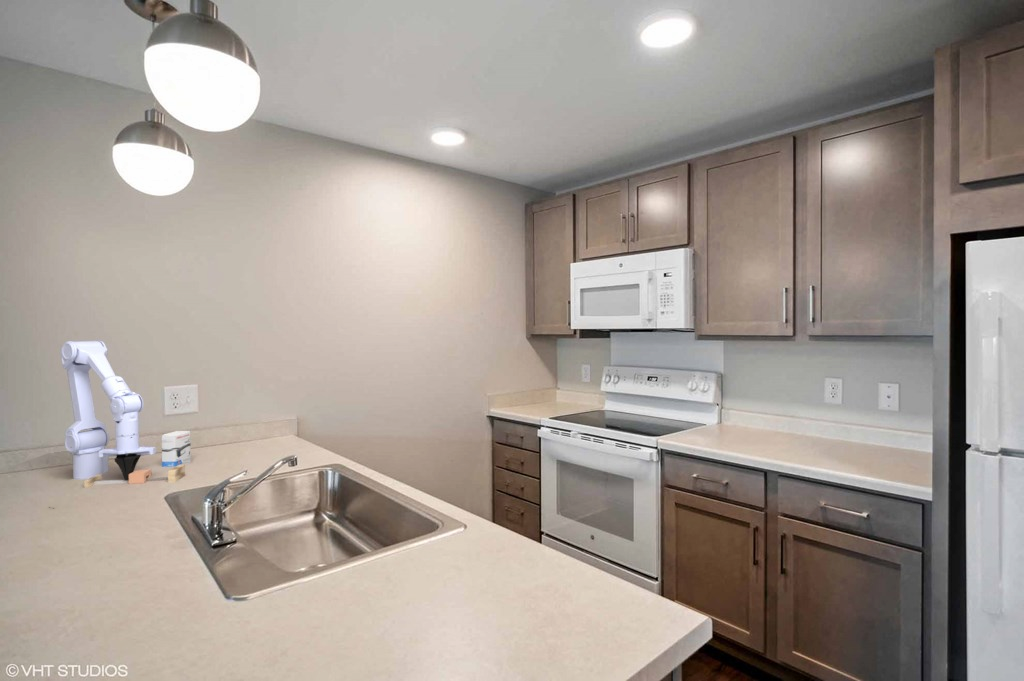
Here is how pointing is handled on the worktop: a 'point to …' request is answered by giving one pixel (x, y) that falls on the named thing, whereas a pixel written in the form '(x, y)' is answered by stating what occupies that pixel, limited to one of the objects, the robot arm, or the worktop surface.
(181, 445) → the ink box
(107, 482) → the rail board
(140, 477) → the block
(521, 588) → the worktop surface
